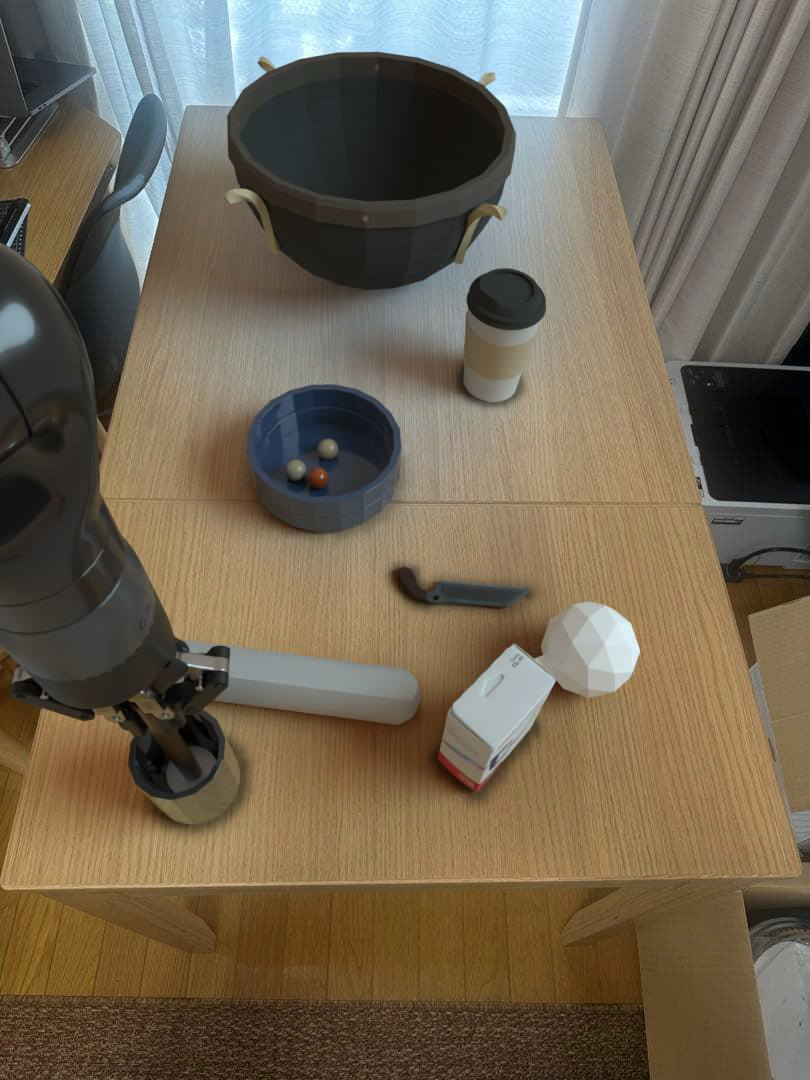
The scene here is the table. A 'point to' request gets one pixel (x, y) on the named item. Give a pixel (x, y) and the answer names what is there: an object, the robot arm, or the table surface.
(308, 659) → the tube
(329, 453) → the bead
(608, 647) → the light bulb
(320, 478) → the bead
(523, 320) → the coffee cup
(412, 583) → the knife
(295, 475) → the bead
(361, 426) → the mixing bowl
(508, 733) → the ink box
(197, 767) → the brown handled pestle
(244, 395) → the table surface
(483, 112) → the bowl
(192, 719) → the holder
